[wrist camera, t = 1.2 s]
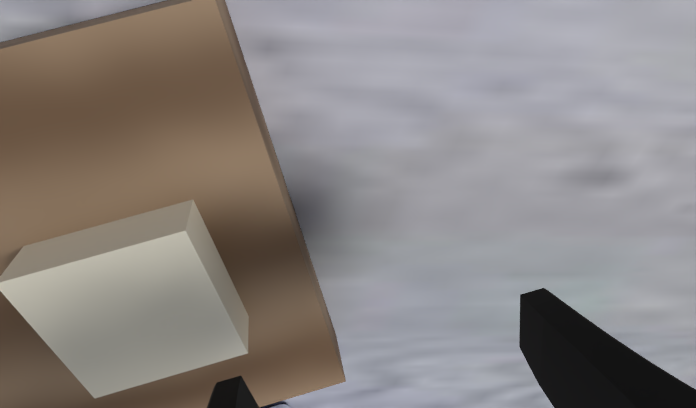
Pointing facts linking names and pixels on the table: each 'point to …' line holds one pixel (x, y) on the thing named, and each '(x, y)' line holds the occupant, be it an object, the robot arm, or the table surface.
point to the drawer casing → (155, 191)
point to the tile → (130, 299)
